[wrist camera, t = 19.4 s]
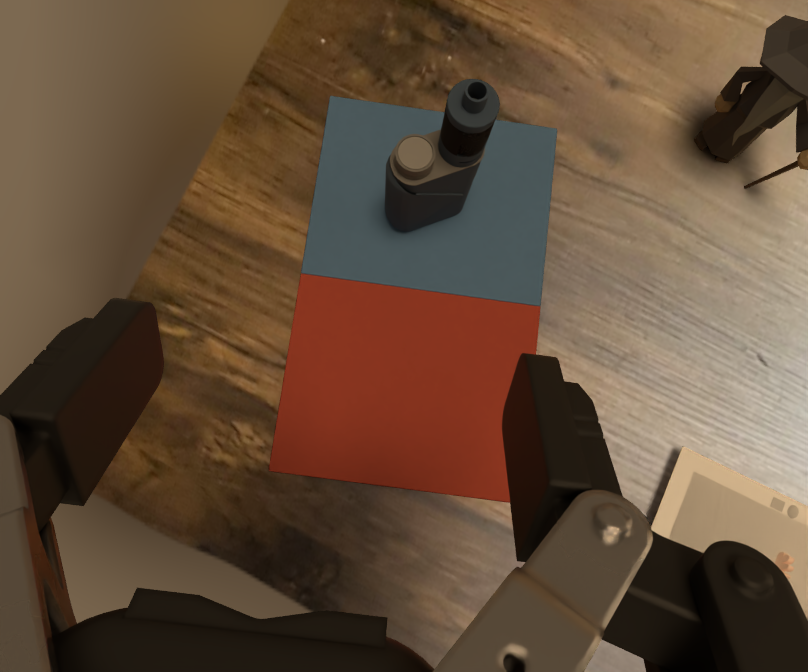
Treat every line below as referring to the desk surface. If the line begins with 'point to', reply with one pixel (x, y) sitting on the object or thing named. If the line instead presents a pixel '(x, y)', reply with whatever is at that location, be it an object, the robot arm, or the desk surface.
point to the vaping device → (440, 160)
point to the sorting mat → (413, 312)
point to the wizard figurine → (764, 97)
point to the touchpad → (734, 516)
